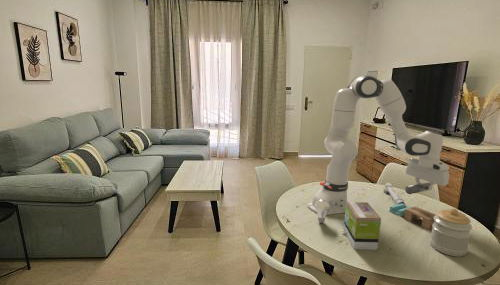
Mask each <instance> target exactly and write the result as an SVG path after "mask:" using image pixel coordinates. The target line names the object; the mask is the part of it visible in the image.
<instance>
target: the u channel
mask: <svg viewBox="0 0 500 285" xmlns="http://www.w3.org/2000/svg"><path fill="white" fill-rule="evenodd" d="M412 207H413V206H408V207H407V206H406V203H405V204H403V203H401V204H397V205H396V204H394V205H390V207H389V212H390V213H392V214H394V215H396V216H399V217H403V216H405V210H406V209H408V208H412Z"/></svg>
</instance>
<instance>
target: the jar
mask: <svg viewBox="0 0 500 285" xmlns="http://www.w3.org/2000/svg"><path fill="white" fill-rule="evenodd" d="M435 215H436V216H434V221H435V222H434V223H433V225H432V226H433V227H432V229H431V233H430V234H431V235H430V236H429V243H430V246H431V247H432V248H433V249H434V250H436V251H438V252H440V253H442V254H444V255H448V256H452V257H464V256H466V254H467V252H468V250H469V248H468V247H469V242H470V237H471V232H470V231H472V230H473V226H472V224H471V221H472V220H471V219H470V218H469V217H467V216H466V214H465V213H462V212H459V210H458V209H457V208H451V209H442V210H439V211H437V213H436V214H435Z"/></svg>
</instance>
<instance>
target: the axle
mask: <svg viewBox="0 0 500 285" xmlns="http://www.w3.org/2000/svg"><path fill="white" fill-rule="evenodd" d="M416 184H417V183H416ZM416 184H413V185H407V186H406V187H405V189H404V190H405V193H406V194H407V195H413V194H417V193H423V192H426V191H427V192H428V191H429V190H427V186H430V185H431V184H430V182H424V183H421V184H417V185H416ZM432 189H433V187H432V188H431V190H432Z"/></svg>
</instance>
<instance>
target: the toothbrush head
mask: <svg viewBox="0 0 500 285" xmlns="http://www.w3.org/2000/svg"><path fill="white" fill-rule="evenodd" d="M382 189H383V191H382V192H383V193H385V194H387V195H390V196H391V198H392V199H393V201H394V203H395V204H394V205H397V204H401V203H403V204H405V205H406V203H405V202H404V201H405V200H404V199H403V198H401V197H400V195H399V194H398V192H396V190H395V189H394V188H393V185H392V183H390V182H386V183H385V185H384V186H383V188H382Z"/></svg>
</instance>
